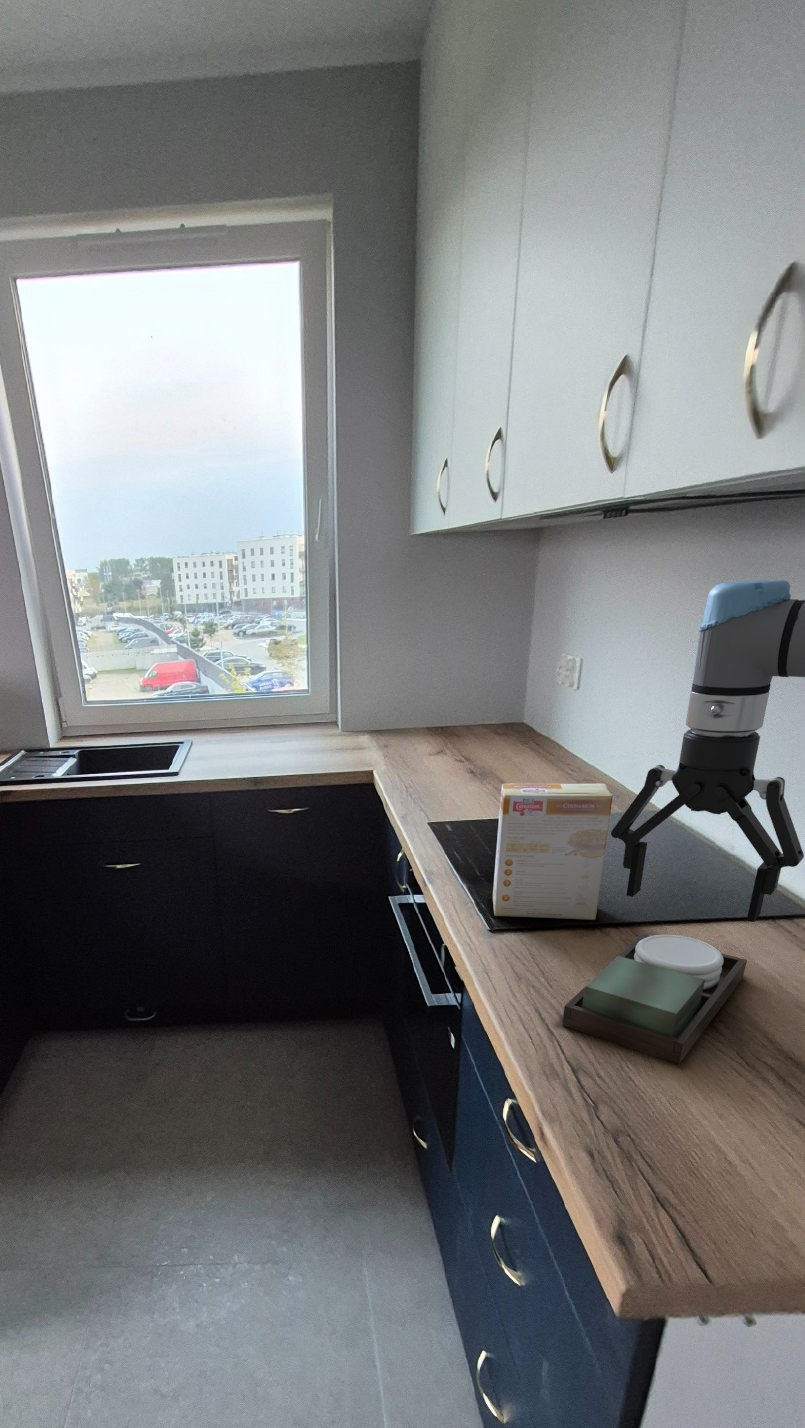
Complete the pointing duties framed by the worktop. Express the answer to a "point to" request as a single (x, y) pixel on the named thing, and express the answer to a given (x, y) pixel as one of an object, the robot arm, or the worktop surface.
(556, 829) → the coffeecake box
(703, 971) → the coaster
